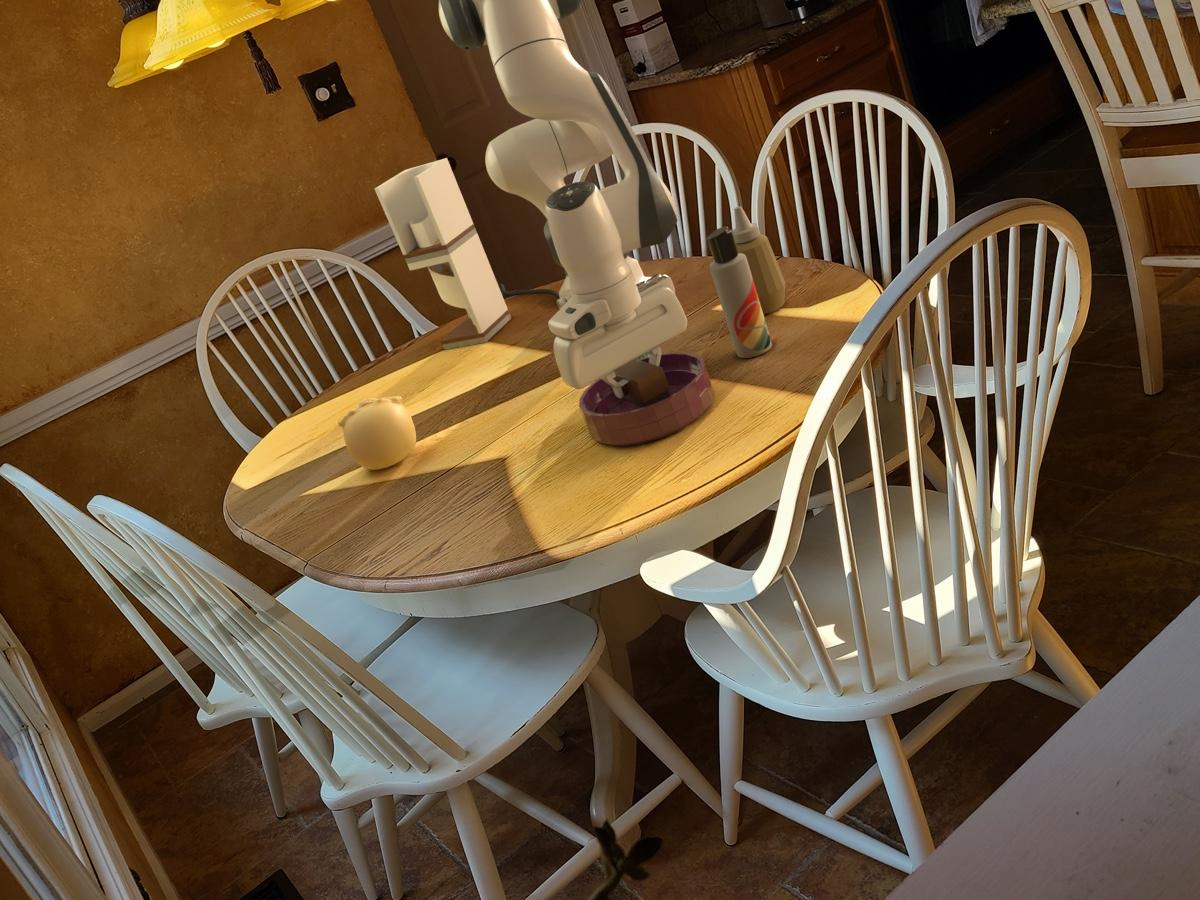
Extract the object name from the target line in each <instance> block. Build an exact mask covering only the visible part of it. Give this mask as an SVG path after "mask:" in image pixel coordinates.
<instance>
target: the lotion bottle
mask: <svg viewBox="0 0 1200 900" xmlns="http://www.w3.org/2000/svg"><path fill="white" fill-rule="evenodd" d="M706 240H707V244H708V246H709V249H710V253H711V255H712V259H713V261H712V262H711V263H710V264H709V271H710V274H711V277H712V281H713V284H714V287H715V290H716V293H717V296H718V297H717V298H718V300H719V303H720V306H721V310H722V313H723V316H724V319H725V322H726V325H727V329H728V332H729V335H730V338H731V342H732V344H733V348H734V351H735V353H736V356H737V357H739V358H742V359H750V358H751V359H752V358H755V357H758V356H762V355H763V354H765V353H766V352H768V351H769V350H771V348H772V339H771V335H770V332H769V329H768V325H767V322H766V318H765V314H763V312H762V308H761V305H760V302H759V298H758V295H757V291H756V288H755V285H754V281H753V278H752V275H751V271H750V268H749V265H748V261H747V258H746V256H745V255H744V254H742V253H738V251H737V247H736V244H735V241H734V237H733V234H732V229H731V228H729V226H726V225H725V226H722V227H719V228H716V229H713V230H712V231H710V233H709V234H708V235H707V237H706Z"/></svg>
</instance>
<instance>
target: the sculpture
mask: <svg viewBox="0 0 1200 900" xmlns="http://www.w3.org/2000/svg"><path fill="white" fill-rule="evenodd" d="M337 425H339V426H340V427H341V428H342V432H343V434H342V435H343V440H344V443H345V446H346V449H347V451H348V453H349V455H350V456H351V458H352V459H353V460H354V461H355V462H356V464H357V465H359V466H360V467H362V468H363V469H367V470H374V471H375V470H382V469H386V468H389V467H392V466H394V465H396V464H398V463H400V462H401V461H403V460H404V459H405V458H406V457H408V456H409V455H410V454H411V453H412V451H413V450H414V448H415V446H416V443H417V431H416V427H415V424H414V421H413V418H412V416H411V414H410V412H409V410H408V409H407V408H406V407H405V406H404V405H403V397H402V396H401V395H393V396H384V397H381V398H378V397H377V398H376V397H368V398H364V399H363V400H361V401H360V402H359V403H358V405H356V406H355V407H354V408H353V409H351V410H349V411H348V412H347V413H346V414H345V415H344V416H342V417H341V418H340V419H339V420H338V421H337Z"/></svg>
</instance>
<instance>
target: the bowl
mask: <svg viewBox="0 0 1200 900" xmlns="http://www.w3.org/2000/svg"><path fill="white" fill-rule="evenodd" d="M649 357H650V356H649ZM649 357H645V358H642V359H639V360H641V361H644V362H647V363H649ZM659 367H662V368H663V371H664V374H665V377H666V380H667V383H668V386H669V389H668V392H669V395H670V397H668V398H666V399H663V400H661V401H659V402H657V403H654V404H652V405H649V406H646V407H643V408H642V407H640V406H637V405H635V404H632V403H629V402H627V401H624V400H622V399H619V398H618V397H616V395H615V393H614V391H613V389H612V386H610V385H609V384H607V383H606V382H605V381H603V380H602V379H601V378H600V379H598V380H596V381H594V382H593V383H591V384H589V385H588V387H586V389H585V390H584V391H583V393H581V395H580V398H579V399H578V407H579V410H580V412H581V415H582V418H583V421H584V423H585V425H586V428H587V430H588V431H587V432H588V433H589V435H590V436H591V438H592V439H593V440H595V441H597V442H599V443H601V444H606V445H610V446H616V447H617V446H618V447H626V446H627V447H628V446H635V445H636V446H637V445H641V444H646V443H650V442H654V441H657V440H660V439H664V438H666V437H668V436H670V435H672V434H674V433H677V432H679V431H680V430H682V429H684V428H686V427H688V426H690V424H692V423H693V422H694V421H696V420H697V419H698V418H700V417H701V416H702V415H703V414H704V412H705V411H706V410H707V409H708V407H709V406H710V404H712V402H713V399H714V397H715V390H714V387H713V386H714V385H713V383H712V380H711V378H710V374H709V371H708V368H707V366H706V362H705V359H704V358H702V357H701V356H700V355H699V354H695V353H692V352H687V351H686V352H685V351H672V352H664V353H663V352H662V353H661V359H660V364H659Z"/></svg>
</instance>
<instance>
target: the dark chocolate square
mask: <svg viewBox="0 0 1200 900" xmlns="http://www.w3.org/2000/svg"><path fill="white" fill-rule="evenodd" d="M614 373H615V375H616V377H615V378H613V380H615V381H616V382H617V383H618V382H622V383H625V384H626V386H627V390H628V392H629V394H627V395H626V396H624V397H622V398H619V399H622V400H624V401H627V402H629V403H632V404H635V405H637V406H640V407H642V408H643V407H646V406H649V405H652V404H654V403H657V402H659V401H661V400H663V399H666V398H668V397H670V395H669V392H668V389H669V386H668V383H667V380H666V377H665V374H664V371H663V368H662V367H659V366H656V365H653V364H650V363H647V362H644V361H641V360H637V359H634V360H632V361H630V362H628V363H627V364H625V365H623V366H621V367H619V368H618V369H616V370H614ZM612 389H613V388H612Z"/></svg>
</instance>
